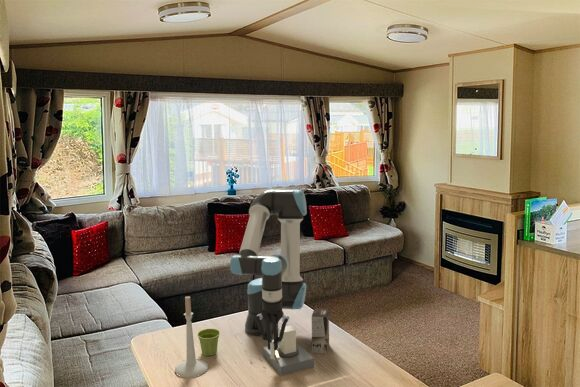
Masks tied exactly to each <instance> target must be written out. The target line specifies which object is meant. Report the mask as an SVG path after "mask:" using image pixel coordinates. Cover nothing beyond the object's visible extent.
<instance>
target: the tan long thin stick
mask: <svg viewBox="0 0 580 387" xmlns="http://www.w3.org/2000/svg"><path fill="white" fill-rule="evenodd" d="M275 356H276V359H277V361H278V360H280V357H279V354H278V352H277V350H276V353H275Z"/></svg>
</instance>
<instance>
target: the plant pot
mask: <svg viewBox="0 0 580 387" xmlns="http://www.w3.org/2000/svg"><path fill="white" fill-rule="evenodd" d="M220 334H221V331H220V330H219V329H216V328H205V329H201V330H200V331H198V332H197V335H196V336H197V337H198V340H199V343H200V350H201V354H202V356H204V357H210V356H214V355H217V353H218V343H219V337H220Z"/></svg>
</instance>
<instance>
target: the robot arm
mask: <svg viewBox="0 0 580 387" xmlns="http://www.w3.org/2000/svg"><path fill="white" fill-rule="evenodd" d="M307 209H308V207H307V200H306V195H305V193H304V191H303V190H301V189H293V188H292V189H267V190H265V191H262V192H261V193H260V194H258V195H257V196H256V197H255V198H254V199H253V201H252V203H251V204H250V206H249V209H248V214H249V218H248V222H247V225H246V228H245V232H244V235H243V239H242V243H241V245H240V249H239V252H238V254H236V255H232V256H231V258H230V263H229V269H230V272H231V274H233V275H240V276H244V275H246V276H249V275H250V276H261V277H260V278H255V279H253V280H251V281H249V283H247V292H246V293H247V310H248V312H247V317H246V321H245V324H244V330H245V332H246V333H247V334H249V335H254V336H261V338H262V340H263V341H266V342H267V346H268V349H269V350H270V359H274V358H275V353H276V350H277V349H278V343H279V342H281V340H282V338H283V335H284V331H285V327H286V326H287V323H288V322H289V320H290V316H288V315H287V316H286V315H285V314H284V311H283V310H302V308H303V307H304V305H305V299H306V294H307V284H306V283H305V282H304V279H303V277H302V276H301V273H300V267H301V266H300V263H301V262H300V260H301V259H300V258H301V256H300V255H301V254H300V253H301V252H300V250H301V243H300V240H301V238H300V236H301V231H300V230H301V227H300V226H301V222H302V221H303V220H304V216H306V215H307V214H308V213H307V212H308V211H307ZM270 216H277V220H278V221H279V222H280V253H275V254H273V255H270V256H269V255H259V251H260V247H261V244H262V238H263V235H264V231H265V227H266V223H267V220H269V218H270ZM280 320H282V324H281V326H280V327H281V331H280V335H279V321H280Z"/></svg>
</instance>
